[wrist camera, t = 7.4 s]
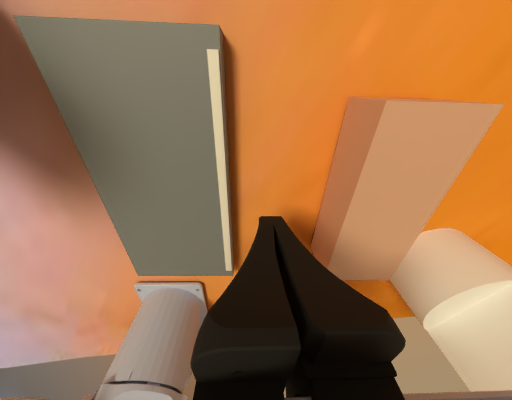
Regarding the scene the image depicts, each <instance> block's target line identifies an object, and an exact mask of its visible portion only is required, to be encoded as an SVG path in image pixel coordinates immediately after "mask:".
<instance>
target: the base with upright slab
mask: <svg viewBox="0 0 512 400" xmlns="http://www.w3.org/2000/svg"><path fill="white" fill-rule="evenodd" d="M390 281H391V283H392V284H393V286H394V287H395V288H396V290H397V291H398V293H399V294H400V295H401V297H402V298H403V300H404V301H405V302H406V304H407V305H408V307H409V308H410V309H411V311H412V312H413V314H414V315H415V316H416V317H417V319H418V320H419V322H420V323H421V325H422V326H423V327H424V329H426V330H427V331H428V333H429V334H430V336H431V337H432V338H433V340H434V341H435V342H436V344H437V345H438V347H439V348H440V349H441V351H442V352H443V353H444V355H445V356H446V357H447V359H448V360H449V362H450V363H451V365H452V366H453V367H454V369H455V370H456V372H457V373H458V374H459V376H460V377H461V379H462V380H463V381H464V383H465V384H466V385H467V387H468V388H469V390H470V391H471V392H474V391H504V390H512V266H510V265H509V264H508V263H506V262H505V261H503V260H502V259H500V258H499V257H497V256H496V255H494V254H493V253H492V252H490V251H489V250H487V249H486V248H484V247H483V246H481V245H480V244H479V243H477V242H476V241H474V240H473V239H471V238H470V237H468V236H467V235H466V234H464V233H462V232H461V231H459V230H455V229H451V228H441V229H434V230H429V231H425V232H422V233H420V234H419V236H418V237H417V239H416V240H415V242H414V243H413V245H412V246H411V248H410V249H409V251H408V253H407V254H406V256H405V257H404V259H403V260H402V262H401V263H400V265H399V266H398V268H397V269H396V271H395V272H394V274H393V275H392V277H391V279H390Z"/></svg>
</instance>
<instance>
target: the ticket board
mask: <svg viewBox="0 0 512 400" xmlns="http://www.w3.org/2000/svg"><path fill="white" fill-rule="evenodd" d="M14 18H15V21H16V23H17V25H18V27H19V29H20V31H21V33H22V35H23V37H24V39H25V41H26V43H27V46H28V48H29V50H30V52H31V54H32V56H33V58H34V60H35V62H36V64H37V66H38V68H39V70H40V73H41V75H42V77H43V79H44V81H45V83H46V85H47V87H48V89H49V91H50V93H51V95H52V98H53V100H54V102H55V104H56V106H57V108H58V110H59V112H60V114H61V116H62V118H63V120H64V123H65V125H66V127H67V129H68V131H69V133H70V135H71V137H72V139H73V141H74V143H75V145H76V147H77V150H78V152H79V154H80V156H81V158H82V160H83V162H84V164H85V166H86V168H87V170H88V172H89V175H90V177H91V179H92V181H93V183H94V185H95V187H96V189H97V191H98V193H99V195H100V197H101V200H102V202H103V204H104V206H105V208H106V210H107V212H108V214H109V216H110V218H111V220H112V222H113V224H114V227H115V229H116V231H117V233H118V235H119V237H120V239H121V241H122V243H123V245H124V247H125V249H126V252H127V254H128V256H129V258H130V260H131V262H132V264H133V266H134V268H135V270H136V272H137V274H138V276H233V272H234V250H233V229H232V209H231V188H230V168H229V147H228V127H227V106H226V86H225V66H224V45H223V32H222V30H221V28H220V26H219V25H209V24H187V23H166V22H144V21H122V20H100V19H78V18H57V17H35V16H14Z"/></svg>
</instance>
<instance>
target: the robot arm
mask: <svg viewBox="0 0 512 400" xmlns="http://www.w3.org/2000/svg"><path fill="white" fill-rule="evenodd" d="M134 288H135V290H136V292H137V294H138V296H139V298H140V300H141V302H142V304H141V306H140V308H139V310H138V312H137V314H136V316H135V318H134V320H133V322H132V324H131V326H130V328H129V330H128V332H127V334H126V336H125V338H124V340H123V342H122V344H121V346H120V348H119V350H118V352H117V354H116V356H115V358H114V360H113V362H112V365H111V366H110V368H109V370H108V372H107V374H106V376H105V378H104V380H103V383H102V384H101V386H100V387H99V389H98V390H97V391H96V393H95V394H94V395H93V396H92V395H88V394H87V395H85V396H84V397H83V398H82V399H80V400H188V396H187V395H183V391H184V389H185V388H186V386H187V384H188V382H189V380H190V377H191V374H192V372H193V374H194V376H195V379H196V385H195V391H194V396H193V400H512V390H504V391H474V392H444V393H415V394H402V392H401V390H400V388H399V386H398V384H397V382H396V380H395V378H394V377H396V376H397V373H396V371H395V369H394V367H393V365H392V363H391V361H392V360H393V359H394V358H395V357H396V356H397V355H398V354H399V353H400V352H401V351H402V350H403V348H404V347H405V341H406V340H405V338H404V337H403V335H402V333H401V332H400V330H399V328H398V327H397V325H396V323H395V322H394V320H393V319H392V317H391V316H390V314H389V313H388V312H387V310H386V309H384V308H383V307H381V306H379V305H378V304H376V303H374V302H373V301H371V300H370V299H368V298H366V297H365V296H363V295H362V294H360V293H359V292H357V291H356V290H354V289H353V288H351V287H350V286H349V285H347V284H346V283H344V282H343V281H342V280H340V279H339V278H338V277H337V276H335V275H334V274H333V273H332V272H330V271H329V270H328V269H327V268H326V267H324V266H323V265H322V264H321V263H320V262H319V261H318V260H317V259H316V258H315V257H314V256H313V255H312V254H311V253H310V252H309V251H308V250H307V249H306V248H305V247H304V246H303V244H302V243H301V242H300V241H299V240H298V238H297V237H296V236H295V235H294V233H293V232H292V231H291V229H290V228H289V227H288V225H287V224H286V222H285V221H284V219H283V218H282V217H281V216H261V217H260V218H259V226H258V230H257V234H256V237H255V240H254V242H253V244H252V247H251V249H250V251H249V253H248V255H247V257H246V259H245V261H244V263H243V265H242V266H241V268H240V270H239V271H238V273H237V274H236V276H235V278H234V279H233V280H232V282H231V283H230V284H229V286H228V287H227V289H226V290H225V291H224V293H223V294H222V295H221V296H220V298H219V299H218V300H217V301H216V302H215V304H214V305H213V306H212V307H211V308H210V310H209V311H207V306H206V301H205V296H204V291H203V286H202V284H201V283H199V282H148V283H136V284H135V286H134ZM285 386H286V398H284V393H283V392H284V389H285ZM0 400H48V399H45V398H39V397H26V398H1V399H0Z"/></svg>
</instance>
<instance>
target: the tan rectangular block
mask: <svg viewBox="0 0 512 400" xmlns="http://www.w3.org/2000/svg"><path fill="white" fill-rule="evenodd" d="M503 106H504V104H493V103H479V102H465V101H451V100H437V99H407V98H377V97H349V100H348V103H347V107H346V111H345V115H344V119H343V123H342V127H341V131H340V135H339V138H338V142H337V146H336V150H335V154H334V158H333V162H332V166H331V170H330V174H329V177H328V181H327V185H326V189H325V193H324V197H323V201H322V205H321V209H320V212H319V216H318V220H317V224H316V228H315V232H314V236H313V240H312V244H311V249H312V252H313V254H314V257H315V258H316V259H317V260H318V261H319V262H320V263H321V264H322V265H323V266H324V267H326V268H327V269H328V270H329V271H330V272H332V273H333V274H334V275H335V276H337V277H338V278H339V279H340V280H390V279H391V277H392V275H393V274H394V272H395V271H396V269H397V268H398V266H399V265H400V263H401V262H402V260H403V259H404V257H405V256H406V254H407V253H408V251H409V249H410V248H411V246H412V245H413V243H414V242H415V240H416V239H417V237H418V236H419V234H420V233H421V231H422V230H423V228H424V227H425V225H426V224H427V222H428V220H429V219H430V217H431V216H432V214H433V213H434V211H435V210H436V208H437V207H438V205H439V204H440V202H441V201H442V199H443V198H444V196H445V194H446V193H447V191H448V190H449V188H450V187H451V185H452V184H453V182H454V181H455V179H456V178H457V176H458V175H459V173H460V172H461V170H462V169H463V167H464V165H465V164H466V162H467V161H468V159H469V158H470V156H471V155H472V153H473V152H474V150H475V149H476V147H477V146H478V144H479V143H480V141H481V139H482V138H483V136H484V135H485V133H486V132H487V130H488V129H489V127H490V126H491V124H492V123H493V121H494V120H495V118H496V117H497V115H498V114H499V112H500V110H501V109H502V107H503Z"/></svg>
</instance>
